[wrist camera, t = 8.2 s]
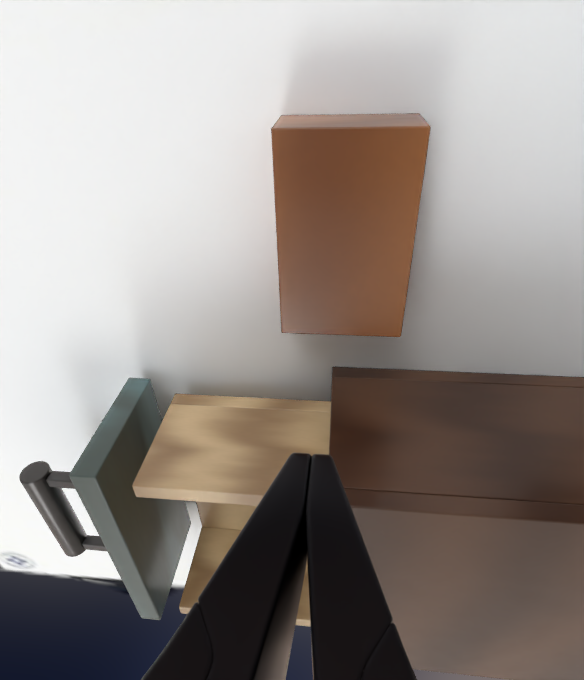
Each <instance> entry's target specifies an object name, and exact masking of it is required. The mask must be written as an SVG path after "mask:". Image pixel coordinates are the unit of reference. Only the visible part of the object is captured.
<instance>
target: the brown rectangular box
mask: <svg viewBox="0 0 584 680" xmlns="http://www.w3.org/2000/svg"><path fill="white" fill-rule="evenodd" d="M271 133H272V153H273V173H274V192H275V212H276V232H277V252H278V271H279V291H280V311H281V331H282V333H300V334H328V335H357V336H386V337H400V336H401V332H402V325H403V318H404V311H405V304H406V297H407V290H408V283H409V276H410V269H411V262H412V254H413V247H414V240H415V233H416V226H417V219H418V212H419V205H420V198H421V191H422V184H423V177H424V170H425V163H426V156H427V149H428V142H429V135H430V125H429V124H428V123H427V122H426V121H425V119H424V118H423V117H422V116H421V115H420V114H419V113H408V114H339V115H282V116H280V118H279V119H278V120H277V122H276V123H275V124H274V126H273V127H272V129H271Z"/></svg>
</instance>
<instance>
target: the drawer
mask: <svg viewBox="0 0 584 680" xmlns="http://www.w3.org/2000/svg"><path fill="white" fill-rule="evenodd" d="M330 414H331V401H312V400H292V399H272V398H252V397H232V396H212V395H192V394H175V395H174V397H173V399H172V402H171V404H170V406H169V408H168V410H167V412H166V414H165V416H164V418H163V421H162V419H161V416H160V412H159V409H158V405H157V402H156V398H155V395H154V391H153V388H152V384H151V380H150V379H143V378H129V379H128V381H127V382H126V384H125V385H124V387H123V389H122V390H121V392H120V393H119V395H118V397H117V398H116V400H115V402H114V403H113V405H112V406H111V408H110V410H109V411H108V413H107V414H106V416H105V418H104V419H103V421H102V423H101V424H100V426H99V427H98V429H97V431H96V432H95V434H94V435H93V437H92V439H91V440H90V442H89V444H88V445H87V447H86V448H85V450H84V452H83V453H82V455H81V456H80V458H79V460H78V461H77V463H76V465H75V466H74V468H73V469H72V471H71V472H60V471H52V470H51V468H50V466H49V464H48V463H46V462H43V461H38V462H34V463H32V464H30V465H28V466H27V467H25V468H24V469H23V470H22V472H21V474H20V481H21V483H22V485H23V486H24V488H25V489H26V491H27V493H28V494H29V496H30V497H31V499H32V501H33V502H34V504H35V506H36V507H37V509H38V510H39V512H40V514H41V515H42V517H43V518H44V520H45V522H46V523H47V525H48V527H49V528H50V530H51V531H52V533H53V535H54V536H55V538H56V539H57V541H58V543H59V544H60V546H61V548H62V549H63V551H64V552H65V554H66V555H67V556H71V557H74V556H78V555H80V554H81V553H83V552H84V551H85V550H86V549H88V550H99V551H108V553H109V555H110V557H111V559H112V561H113V563H114V565H115V567H116V569H117V571H118V573H119V575H120V577H121V579H122V581H123V583H124V584H125V586H126V588H127V590H128V592H129V594H130V596H131V598H132V600H133V602H134V604H135V606H136V608H137V610H138V612H139V614H140V616H141V618H145V619H155V620H160V619H161V617H162V614H163V610H164V607H165V604H166V601H167V598H168V594H169V591H170V588H171V585H172V582H173V578H174V575H175V572H176V569H177V566H178V563H179V559H180V556H181V553H182V550H183V547H184V543H185V540H186V537H187V534H188V531H189V527H190V524H191V522H190V518H189V514H188V511H187V507H186V504H185V501H196V504H197V508H198V511H199V515H200V519H201V523H202V529H201V533H200V536H199V540H198V543H197V546H196V550H195V553H194V557H193V560H192V564H191V567H190V571H189V574H188V578H187V581H186V585H185V588H184V591H183V595H182V598H181V602H180V605H179V608H180V611H181V613H183V614H188V612H189V611H190V609H191V608H192V606H193V605H194V603H196V602H198V597H199V596H200V594H201V593H202V591H203V590H204V588H205V586H206V585H207V583H208V582H209V580H210V579H211V577H212V576H213V574H214V572H215V571H216V569H217V568H218V566H219V565H220V563H221V562H222V560H223V558H224V557H225V555H226V554H227V552H228V551H229V549H230V548H231V546H232V544H233V543H234V541H235V540H236V538H237V537H238V535H239V534H240V532H241V530H242V529H243V527H244V526H245V524H246V523H247V521H248V520H249V518H250V516H251V515H252V513H253V512H254V510H255V509H256V507H257V506H258V504H259V502H260V501H261V499H262V498H263V496H264V495H265V493H266V492H267V490H268V488H269V487H270V485H271V484H272V482H273V481H274V479H275V478H276V476H277V474H278V473H279V471H280V470H281V468H282V467H283V465H284V464H285V462H286V460H287V459H288V457H289V456H290V455H291V454H292V453H308V454H310V455H311V457H312V455H313V454H327V455H329V438H330ZM62 488H74V489H76V491H77V492H78V494H79V496H80V498H81V500H82V502H83V504H84V506H85V508H86V510H87V512H88V514H89V516H90V518H91V520H92V522H93V524H94V526H95V528H96V530H97V532H98V534H99V536H90V535H86V533H85V531H84V529H83V527H82V525H81V523H80V522H79V520H78V518H77V516H76V514H75V512H74V510H73V509H72V507H71V505H70V503H69V501H68V499H67V498H66V496H65V494H64V492H63V490H62ZM295 625H303V626H311V625H310V605H309V585H308V563H306V569H305V575H304V581H303V586H302V591H301V597H300V602H299V608H298V613H297V619H296V624H295Z"/></svg>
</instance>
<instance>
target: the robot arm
mask: <svg viewBox="0 0 584 680" xmlns="http://www.w3.org/2000/svg"><path fill="white" fill-rule="evenodd" d="M306 563H308V585H309V605H310V625H311V645H312V663H313V664H312V666H313V680H417V679H416V676H415V674H414V671H413V669H412V666H411V664H410V661H409V659H408V656H407V654H406V652H405V649H404V647H403V644H402V641H401V639H400V636H399V633H398V631H397V628H396V625H395V624H394V623H392V622H393V618H392V615H391V612H390V610H389V607H388V604H387V602H386V599H385V596H384V594H383V591H382V588H381V586H380V583H379V580H378V578H377V575H376V572H375V570H374V567H373V564H372V562H371V559H370V556H369V554H368V551H367V548H366V546H365V543H364V540H363V538H362V535H361V532H360V530H359V527H358V524H357V521H356V519H355V516H354V513H353V511H352V508H351V505H350V503H349V500H348V497H347V495H346V492H345V489H344V487H343V484H342V481H341V479H340V476H339V473H338V471H337V468H336V465H335V463H334V460H333V458H332V456H331V455H327V454H313V455H312V457H311V455H310V454H308V453H292V454H291V455H290V456H289V457H288V459H287V460H286V462H285V464H284V465H283V467H282V468H281V470H280V471H279V473H278V474H277V476H276V478H275V479H274V481H273V482H272V484H271V485H270V487H269V488H268V490H267V492H266V493H265V495H264V496H263V498H262V499H261V501H260V502H259V504H258V506H257V507H256V509H255V510H254V512H253V513H252V515H251V516H250V518H249V520H248V521H247V523H246V524H245V526H244V527H243V529H242V530H241V532H240V534H239V535H238V537H237V538H236V540H235V541H234V543H233V544H232V546H231V548H230V549H229V551H228V552H227V554H226V555H225V557H224V558H223V560H222V562H221V563H220V565H219V566H218V568H217V569H216V571H215V572H214V574H213V576H212V577H211V579H210V580H209V582H208V583H207V585H206V586H205V588H204V590H203V591H202V593H201V594H200V596H199V597H198V602H196V603H194V605H193V606H192V608H191V609H190V611H189V612H188V614H187V616H186V617H185V619H184V620H183V622H182V623H181V625H180V626H179V628H178V629H177V631H176V632H175V634H174V635H173V637H172V638H171V639H170V641H169V643H168V644H167V646H166V647H165V648H164V650H163V651H162V653H161V654H160V655H159V657H158V658H157V659H156V661H155V662H154V663H153V665H152V666H151V667H150V669H149V670H148V671H147V673H146V674H145V675H144V676H143V678H142V679H141V680H285V678H286V673H287V667H288V662H289V657H290V651H291V646H292V640H293V635H294V629H295V624H296V619H297V613H298V608H299V602H300V597H301V591H302V586H303V581H304V575H305V569H306Z"/></svg>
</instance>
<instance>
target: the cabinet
mask: <svg viewBox="0 0 584 680" xmlns="http://www.w3.org/2000/svg"><path fill="white" fill-rule="evenodd" d="M329 455H331V456H332V458H333V460H334V463H335V465H336V468H337V471H338V473H339V476H340V479H341V481H342V484H343V487H344V489H345V492H346V495H347V497H348V500H349V503H350V505H351V508H352V511H353V513H354V516H355V519H356V521H357V524H358V527H359V530H360V532H361V535H362V538H363V540H364V543H365V546H366V548H367V551H368V554H369V556H370V559H371V562H372V564H373V567H374V570H375V572H376V575H377V578H378V580H379V583H380V586H381V588H382V591H383V594H384V596H385V599H386V602H387V604H388V607H389V610H390V612H391V615H392V618H393V622H392V623H394V624H395V625H396V628H397V631H398V633H399V636H400V639H401V641H402V644H403V647H404V649H405V652H406V654H407V656H408V659H409V661H410V664H411V666H412V669H415V670H425V671H434V672H444V673H453V674H463V675H471V676H480V677H489V678H499V679H509V680H584V377H562V376H538V375H514V374H491V373H467V372H443V371H419V370H396V369H372V368H348V367H333V368H332V391H331V414H330V438H329Z"/></svg>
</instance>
